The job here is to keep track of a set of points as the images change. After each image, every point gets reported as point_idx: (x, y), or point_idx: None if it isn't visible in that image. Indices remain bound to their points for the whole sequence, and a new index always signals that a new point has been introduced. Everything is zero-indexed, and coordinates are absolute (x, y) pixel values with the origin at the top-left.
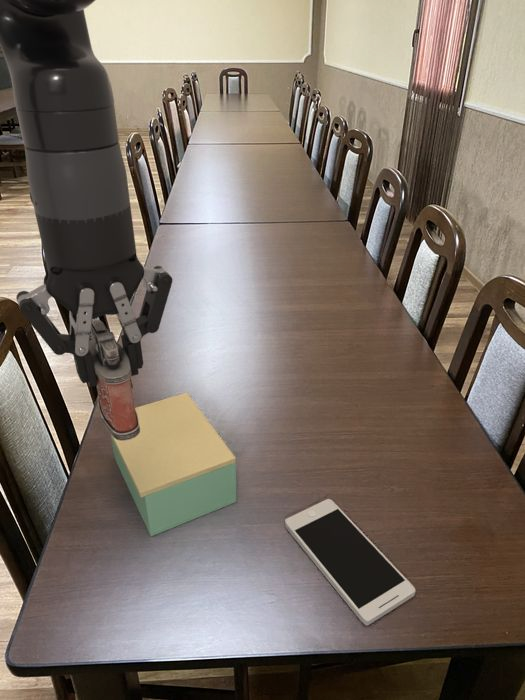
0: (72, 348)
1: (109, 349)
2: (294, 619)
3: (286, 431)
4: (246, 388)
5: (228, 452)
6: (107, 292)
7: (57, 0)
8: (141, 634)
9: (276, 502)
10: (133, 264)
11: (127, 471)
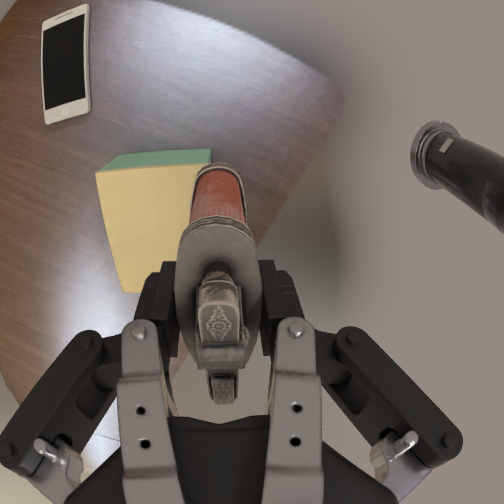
0: (315, 341)
1: (224, 309)
2: (131, 21)
3: (54, 223)
4: (78, 289)
5: (99, 184)
6: (196, 499)
7: None
8: (254, 58)
9: (87, 140)
10: None
11: None
